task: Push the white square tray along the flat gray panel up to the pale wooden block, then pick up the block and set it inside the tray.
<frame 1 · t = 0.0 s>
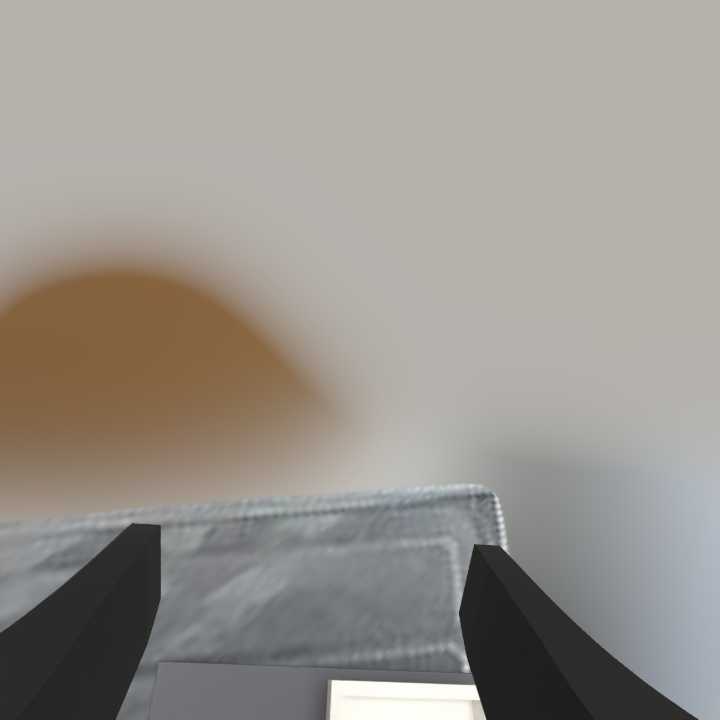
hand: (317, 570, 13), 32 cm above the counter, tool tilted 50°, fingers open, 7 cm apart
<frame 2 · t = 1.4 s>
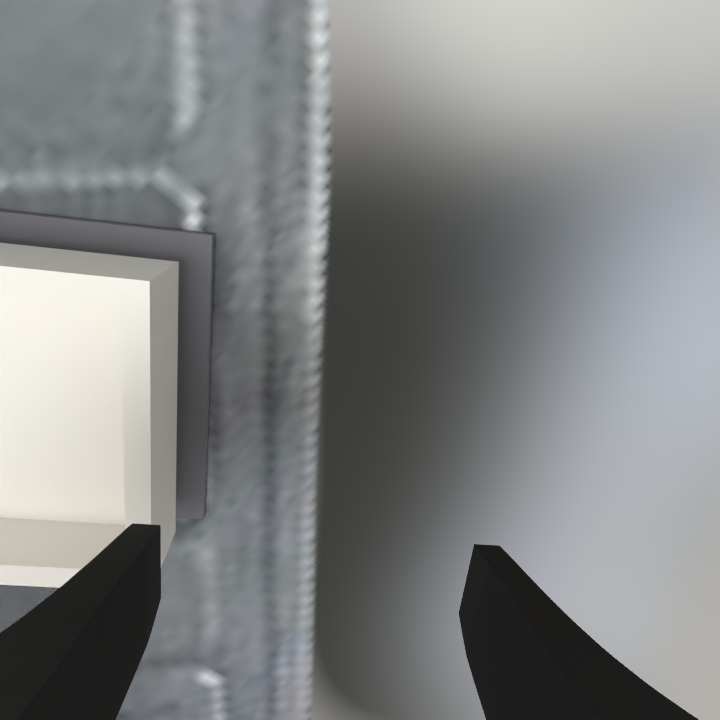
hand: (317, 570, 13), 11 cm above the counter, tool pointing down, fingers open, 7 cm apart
white square tray: (9, 405, 19), point 3 cm above the counter, slide at 0.0 cm
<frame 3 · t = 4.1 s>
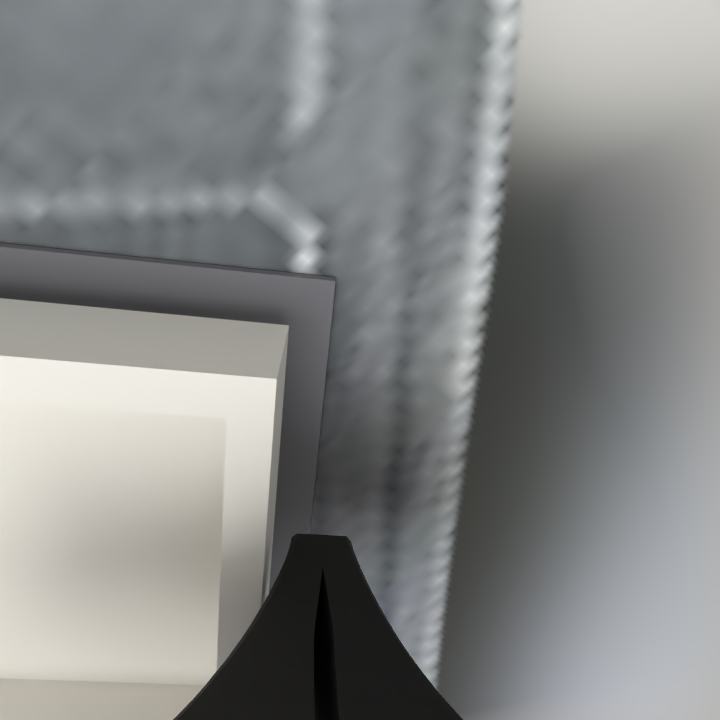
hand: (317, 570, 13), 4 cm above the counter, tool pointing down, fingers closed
white square tray: (38, 534, 13), point 3 cm above the counter, slide at 0.3 cm, touching gripper
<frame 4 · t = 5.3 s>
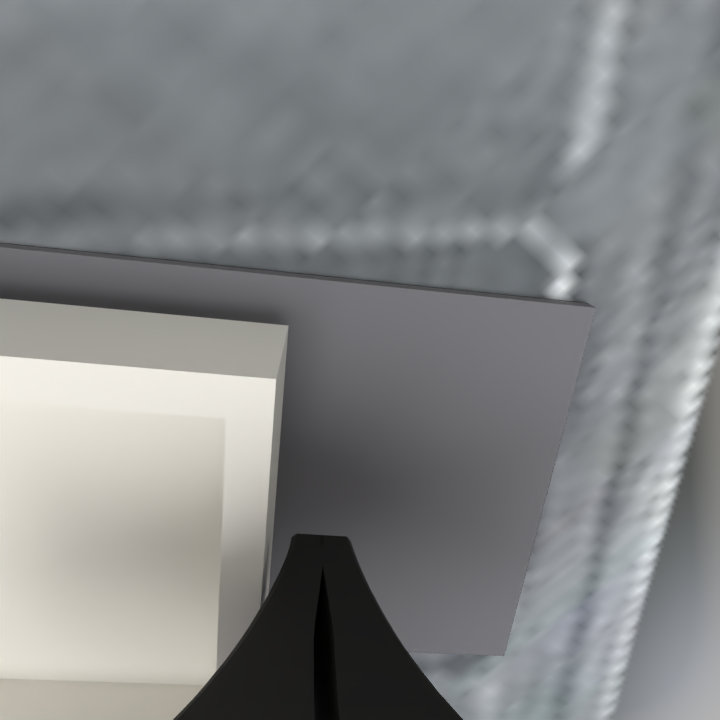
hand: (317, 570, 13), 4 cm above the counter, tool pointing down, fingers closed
white square tray: (38, 534, 13), point 3 cm above the counter, slide at 7.2 cm, touching gripper
flat gray panel: (153, 466, 16), on the counter
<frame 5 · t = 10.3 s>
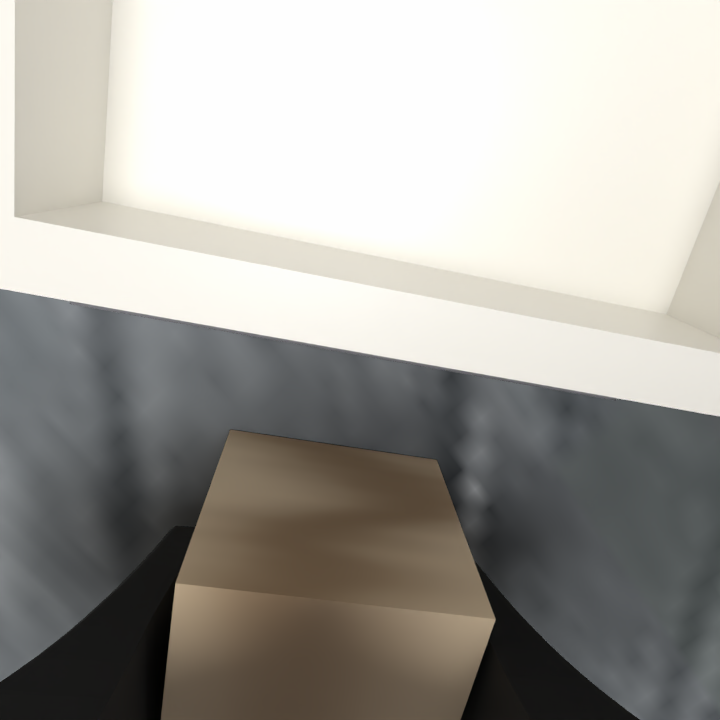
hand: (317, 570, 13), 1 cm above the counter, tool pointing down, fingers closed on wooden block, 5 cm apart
wooden block: (318, 531, 14), on the counter, touching gripper
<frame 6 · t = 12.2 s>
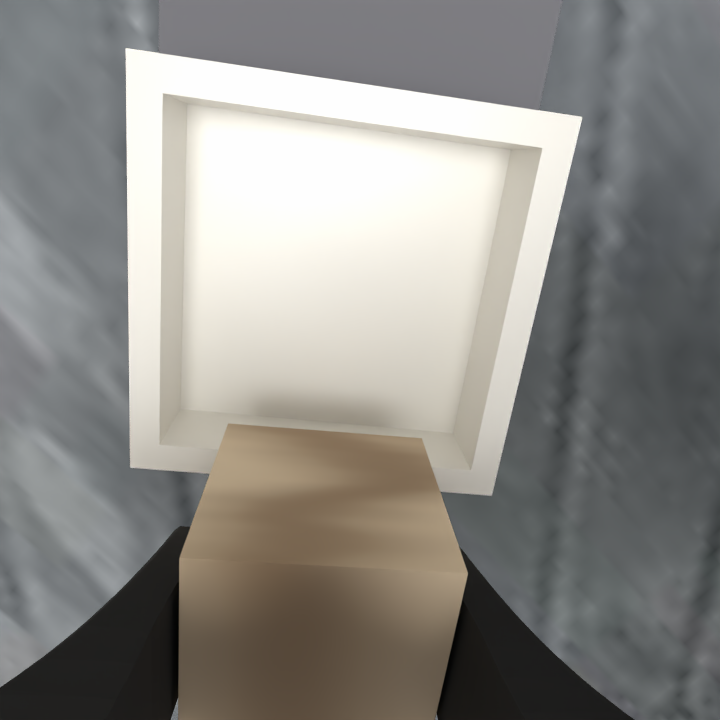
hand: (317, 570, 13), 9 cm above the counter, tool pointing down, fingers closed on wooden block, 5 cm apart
wooden block: (317, 512, 15), point 7 cm above the counter, touching gripper
white square tray: (335, 287, 17), point 3 cm above the counter, slide at 10.0 cm
flat gray panel: (349, 134, 18), on the counter
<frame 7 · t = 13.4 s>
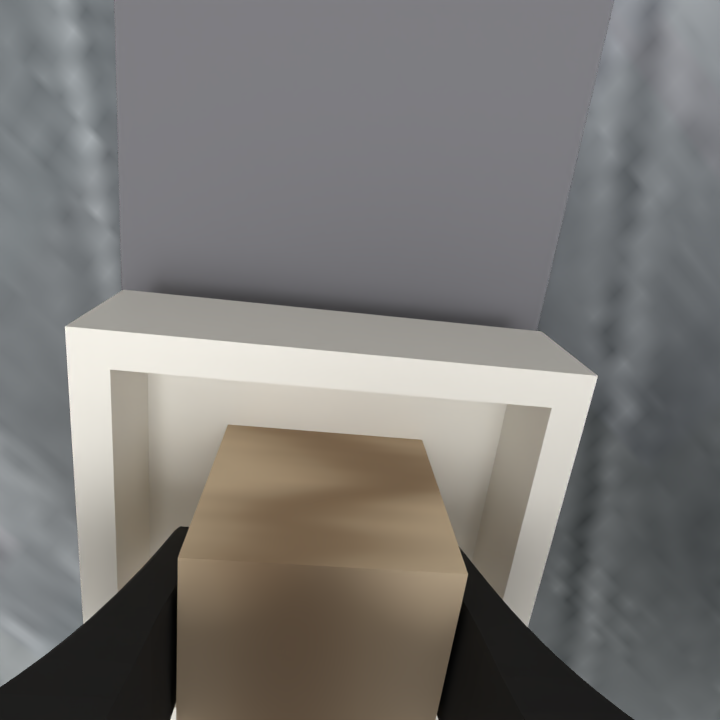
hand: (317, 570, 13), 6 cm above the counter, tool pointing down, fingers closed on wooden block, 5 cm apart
wooden block: (317, 514, 15), point 3 cm above the counter, touching white square tray, gripper
white square tray: (319, 507, 15), point 3 cm above the counter, slide at 10.0 cm, touching wooden block
flat gray panel: (335, 316, 16), on the counter
when the fingers open (6 cm above the counter, at t = 13.9 s): wooden block stays where it is, resting on white square tray.
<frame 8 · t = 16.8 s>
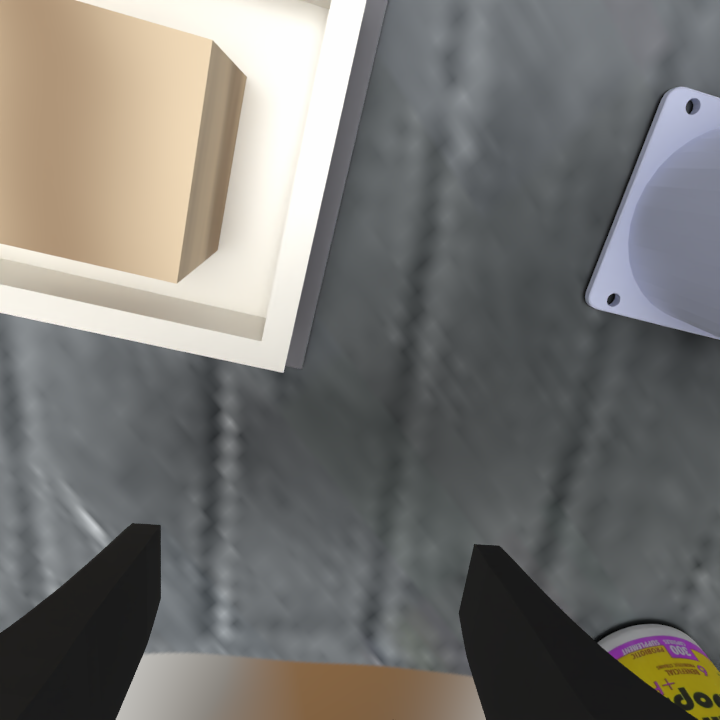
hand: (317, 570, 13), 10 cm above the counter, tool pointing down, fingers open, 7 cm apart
wooden block: (145, 145, 16), point 3 cm above the counter, touching white square tray
supplement bottle: (631, 663, 29), on the counter
white square tray: (145, 137, 16), point 3 cm above the counter, slide at 10.0 cm, touching wooden block
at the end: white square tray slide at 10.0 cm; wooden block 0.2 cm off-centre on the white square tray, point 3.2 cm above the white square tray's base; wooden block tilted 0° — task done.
